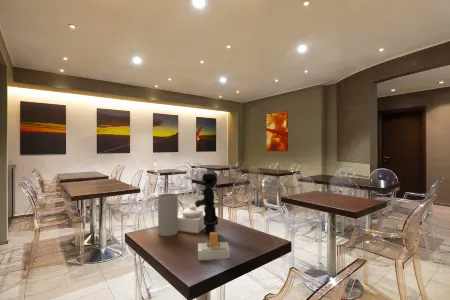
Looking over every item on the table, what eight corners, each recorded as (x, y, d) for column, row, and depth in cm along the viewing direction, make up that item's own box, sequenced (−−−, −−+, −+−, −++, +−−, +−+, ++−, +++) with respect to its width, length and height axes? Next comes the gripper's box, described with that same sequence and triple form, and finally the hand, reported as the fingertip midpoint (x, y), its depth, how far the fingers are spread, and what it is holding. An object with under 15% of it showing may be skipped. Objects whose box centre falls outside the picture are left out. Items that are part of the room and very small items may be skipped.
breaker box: (198, 251, 129) (198, 240, 129) (227, 250, 131) (227, 239, 130) (198, 260, 119) (198, 248, 119) (229, 258, 121) (229, 247, 121)
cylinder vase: (168, 238, 148) (168, 198, 148) (154, 234, 154) (153, 195, 154) (181, 232, 159) (181, 194, 158) (168, 228, 165) (167, 192, 165)
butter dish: (174, 230, 162) (174, 207, 162) (186, 222, 179) (186, 201, 179) (198, 233, 157) (198, 209, 156) (208, 225, 174) (208, 203, 174)
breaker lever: (209, 243, 126) (209, 232, 122) (216, 243, 127) (217, 231, 122) (209, 245, 125) (209, 234, 120) (217, 245, 125) (217, 234, 121)
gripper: (195, 191, 150) (195, 216, 150) (195, 197, 131) (195, 225, 131) (213, 191, 151) (213, 215, 151) (215, 197, 133) (215, 225, 133)
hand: (209, 220), depth 142 cm, fingers closed
